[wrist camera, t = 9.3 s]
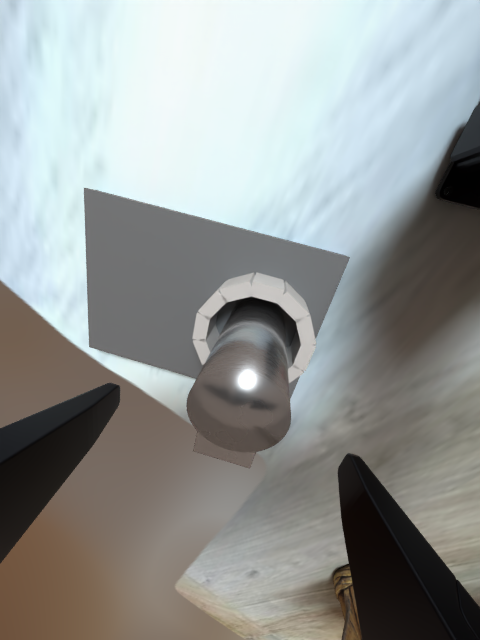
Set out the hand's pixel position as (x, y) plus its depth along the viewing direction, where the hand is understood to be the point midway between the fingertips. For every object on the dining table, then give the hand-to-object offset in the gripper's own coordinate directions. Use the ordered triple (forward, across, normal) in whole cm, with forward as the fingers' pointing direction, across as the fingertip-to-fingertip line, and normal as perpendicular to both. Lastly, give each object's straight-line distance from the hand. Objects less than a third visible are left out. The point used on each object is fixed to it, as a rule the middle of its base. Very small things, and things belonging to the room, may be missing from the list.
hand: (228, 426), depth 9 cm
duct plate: (+12, +5, +1) cm, 13 cm away
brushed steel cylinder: (+11, 0, +3) cm, 12 cm away
